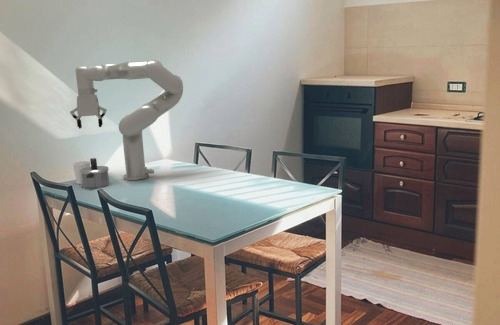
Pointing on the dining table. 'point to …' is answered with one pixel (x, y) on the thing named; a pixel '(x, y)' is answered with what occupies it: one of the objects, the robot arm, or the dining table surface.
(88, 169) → the lid
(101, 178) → the pot
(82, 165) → the white cup
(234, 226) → the dining table surface
